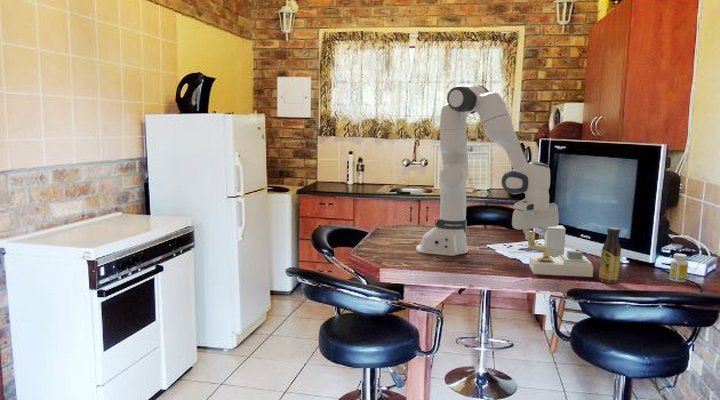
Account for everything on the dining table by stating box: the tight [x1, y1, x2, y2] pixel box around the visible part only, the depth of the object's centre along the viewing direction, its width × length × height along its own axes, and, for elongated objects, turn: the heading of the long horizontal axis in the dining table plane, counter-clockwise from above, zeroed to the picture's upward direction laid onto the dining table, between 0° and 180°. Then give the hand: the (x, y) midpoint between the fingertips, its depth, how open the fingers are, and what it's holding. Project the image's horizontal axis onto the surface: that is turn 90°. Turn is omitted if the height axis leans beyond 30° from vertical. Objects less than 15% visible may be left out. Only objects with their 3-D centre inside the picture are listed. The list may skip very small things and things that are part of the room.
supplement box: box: [543, 224, 566, 258], centre depth 232 cm, size 7×7×13 cm
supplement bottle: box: [668, 253, 689, 283], centre depth 198 cm, size 5×5×10 cm
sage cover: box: [561, 250, 589, 263], centre depth 207 cm, size 8×8×4 cm
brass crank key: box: [527, 230, 551, 262], centre depth 210 cm, size 10×4×10 cm, turn 42°
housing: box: [528, 255, 594, 278], centre depth 208 cm, size 21×11×5 cm, turn 82°
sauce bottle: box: [598, 226, 622, 285], centre depth 195 cm, size 7×6×20 cm
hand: (534, 239), depth 213 cm, fingers open, 5 cm apart
